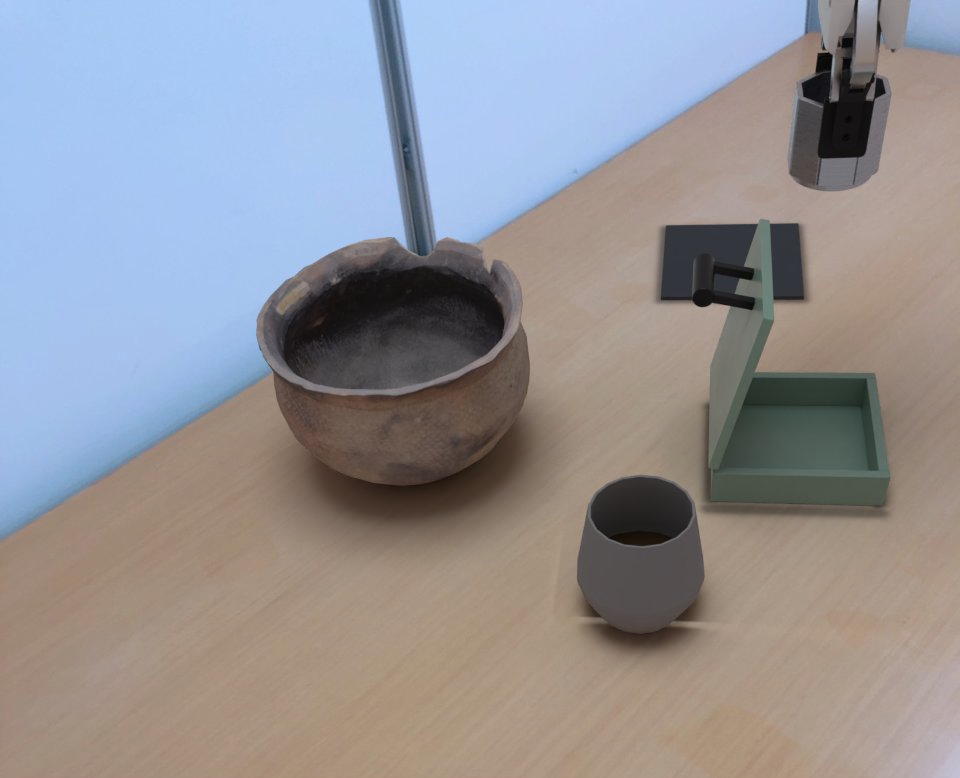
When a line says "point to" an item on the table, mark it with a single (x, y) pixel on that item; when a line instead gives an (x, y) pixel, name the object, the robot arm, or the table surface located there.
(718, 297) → the box lid
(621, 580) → the cup
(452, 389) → the ceramic bowl
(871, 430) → the green tray
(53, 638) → the table surface
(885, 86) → the octagonal grey canister
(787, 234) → the mat
